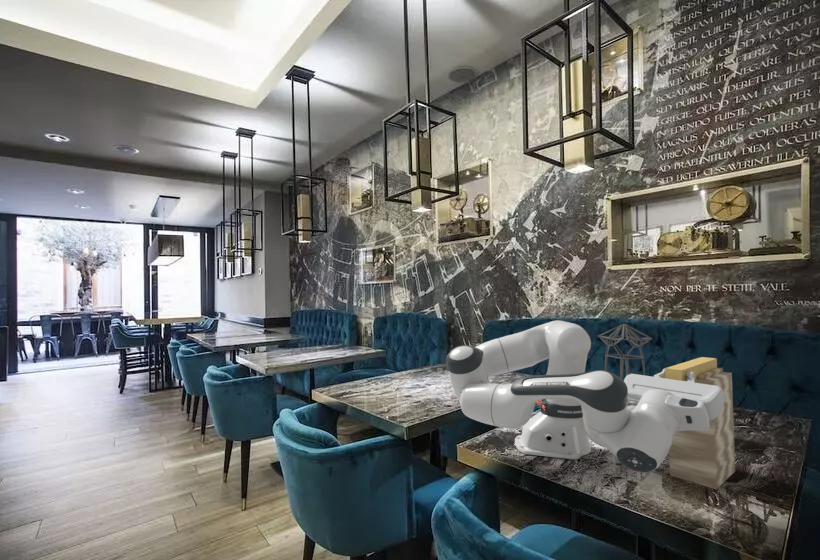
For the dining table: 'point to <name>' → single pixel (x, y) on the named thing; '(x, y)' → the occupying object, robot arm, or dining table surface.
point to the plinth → (707, 442)
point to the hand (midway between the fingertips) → (679, 372)
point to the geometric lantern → (629, 342)
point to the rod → (691, 368)
